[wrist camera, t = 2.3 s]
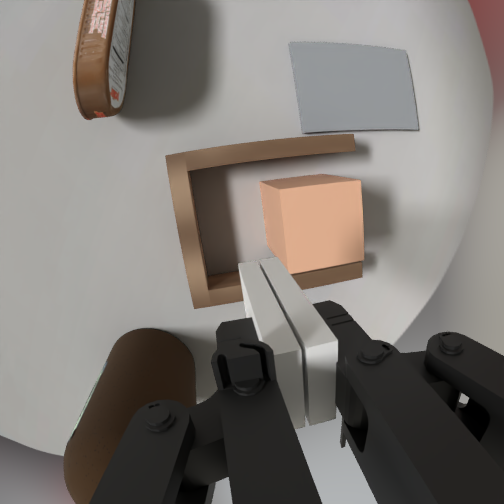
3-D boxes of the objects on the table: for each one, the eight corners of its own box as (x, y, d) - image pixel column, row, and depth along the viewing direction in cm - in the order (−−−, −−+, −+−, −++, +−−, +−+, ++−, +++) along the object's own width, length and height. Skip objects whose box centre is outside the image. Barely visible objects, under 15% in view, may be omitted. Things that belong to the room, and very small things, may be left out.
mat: (288, 43, 25) (290, 41, 24) (402, 51, 26) (405, 50, 26) (302, 133, 28) (304, 132, 27) (415, 129, 29) (418, 129, 28)
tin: (115, -12, 21) (92, -54, 13) (145, -16, 21) (130, -61, 13) (98, 125, 25) (60, 114, 17) (131, 122, 25) (102, 108, 17)
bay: (170, 156, 27) (165, 155, 23) (337, 136, 28) (353, 133, 25) (195, 292, 30) (194, 309, 27) (347, 265, 32) (362, 277, 29)
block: (259, 181, 28) (279, 189, 21) (321, 174, 29) (360, 180, 21) (267, 245, 30) (288, 274, 23) (327, 235, 31) (364, 259, 23)
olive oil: (201, 324, 31) (214, 581, 8) (200, 401, 34) (215, 604, 11) (100, 318, 30) (2, 536, 6) (113, 394, 33) (71, 584, 9)
